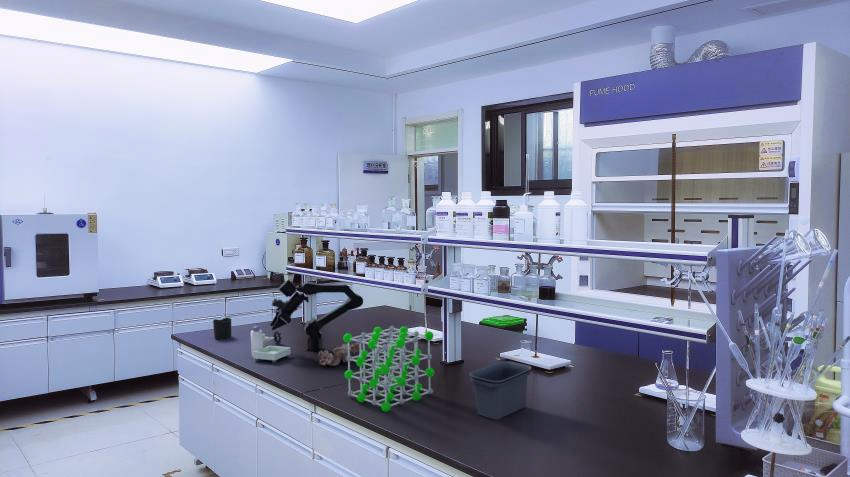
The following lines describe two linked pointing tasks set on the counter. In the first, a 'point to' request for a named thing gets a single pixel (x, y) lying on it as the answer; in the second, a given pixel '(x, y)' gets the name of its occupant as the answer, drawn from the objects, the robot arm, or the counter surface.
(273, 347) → the shallow mint tray
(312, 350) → the robot arm
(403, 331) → the molecular structure model
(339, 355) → the mineral formation
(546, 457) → the counter surface
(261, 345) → the bottle
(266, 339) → the valve
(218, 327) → the pen holder
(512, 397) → the storage bin
